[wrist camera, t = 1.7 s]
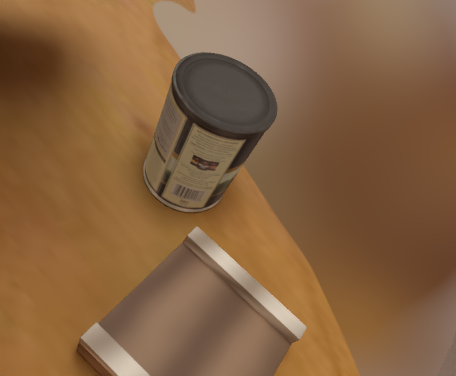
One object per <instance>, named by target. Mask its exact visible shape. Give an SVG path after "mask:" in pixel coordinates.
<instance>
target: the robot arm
mask: <svg viewBox="0 0 456 376" xmlns="http://www.w3.org/2000/svg"><path fill="white" fill-rule="evenodd" d="M438 376H456V333H455V336H454V338H453V341H452V343H451V345H450V348H449V350H448V353H447V355H446V357H445V360H444V362H443V365H442V367H441V369H440V372H439V374H438Z"/></svg>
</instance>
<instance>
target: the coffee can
mask: <svg viewBox="0 0 456 376" xmlns="http://www.w3.org/2000/svg"><path fill="white" fill-rule="evenodd" d="M276 115H277V102H276V99H275V96H274V94H273V92H272V90H271V89H270V87H269V86H268V84H267V83H266V82H265V81H264V80H263V78H262V77H261V76H260V75H258V74H257V73H256V72H255V71H253V70H252V69H251V68H249V67H248V66H246V65H245V64H243V63H241V62H239V61H237V60H235V59H233V58H230V57H227V56H224V55H221V54H215V53H204V52H203V53H195V54H191V55H189V56H186V57H184V58H183V59H181V60H180V61H179V62H178V63H177V65H176V67H175V69H174V71H173V75H172V82H171V85H170V88H169V91H168V95H167V97H166V100H165V104H164V107H163V110H162V113H161V116H160V119H159V122H158V125H157V127H156V131H155V134H154V137H153V140H152V143H151V146H150V149H149V152H148V155H147V157H146V159H145V161H144V165H143V175H144V180H145V183H146V185H147V187H148V188H149V190H150V191H151V193H152V194H153V195H154V196H155V197H156V198H157V199H158V200H159V201H160V202H162V203H163V204H165V205H166V206H168V207H171V208H173V209H176V210H179V211H183V212H201V211H205V210H208V209H210V208H212V207H213V206H215V205H216V204H217V203H218V202H219V201H220V199H221V198H222V196H223V194H224V192H225V191H226V189H227V188H228V186H229V185H230V183H231V182H232V180H233V179H234V177H235V176H236V174H237V173H238V171H239V170H240V168H241V167H242V165H243V164H244V162H245V161H246V159H247V158H248V156H249V155H250V153H251V152H252V150H253V149H254V147H255V146H256V145H257V143H258V141H259V140H260V138H261V137H262V135H263V134H264V132H265V131H266V130H268V128H269V127H270V126H271V125H272V123H273V122H274V120H275V118H276Z"/></svg>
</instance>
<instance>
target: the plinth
mask: <svg viewBox="0 0 456 376" xmlns="http://www.w3.org/2000/svg"><path fill="white" fill-rule="evenodd" d="M306 328H307V327H306V326H305V325H304V324H303V323H302V322H301V321H300V320H299V319H298V318H296V317H295V316H294V315H293V314H292V313H291V312H290V311H289V310H288V309H287V308H286V307H285V306H283V305H282V304H281V303H280V302H279V301H278V300H277V299H276V298H275V297H274V296H273V295H271V294H270V293H269V292H268V291H267V290H266V289H265V288H264V287H263V286H262V285H261V284H260V283H258V282H257V281H256V280H255V279H254V278H253V277H252V276H251V275H250V274H249V273H248V272H246V271H245V270H244V269H243V268H242V267H241V266H240V265H239V264H238V263H237V262H236V261H235V260H233V259H232V258H231V257H230V256H229V255H228V254H227V253H226V252H225V251H224V250H223V249H221V248H220V247H219V246H218V245H217V244H216V243H215V242H214V241H213V240H212V239H211V238H210V237H208V236H207V235H206V234H205V233H204V232H203V231H202V230H201V229H200V228H199V227H198V226H197V227H196V228H195V229H194V230H192V231H191V232H190V233H189V234H188V235H187V237H186V238H185V240H184V241H183V243H182V244H181V245H180V246H178V247H177V248H176V249H175V250H174V251H173V252H172V253H171V254H170V255H169V256H168V257H167V258H166V259H165V260H164V261H163V262H162V263H161V264H160V265H159V266H158V267H157V268H156V269H155V270H154V271H152V272H151V273H150V274H149V275H148V276H147V277H146V278H145V279H144V280H143V281H142V282H141V283H140V284H139V285H138V286H137V287H136V288H135V289H134V290H133V291H132V292H131V293H130V294H129V295H128V296H126V297H125V298H124V299H123V300H122V301H121V302H120V303H119V304H118V305H117V306H116V307H115V308H114V309H113V310H112V311H111V312H110V313H109V314H108V315H107V316H106V317H105V318H104V319H103V320H102V321H100V322H99V323H97V322H96V323H95V324H94V325H93V326H92V327H91V328H90V329H89V330H88V331H87V332H86V333H85V334H84V335H83V336H81V337H80V341H79V344H78V347H77V351H78V353H79V354H80V355H81V356H82V357H83V358H84V359H85V360H86V361H87V362H88V363H89V364H90V365H91V366H92V367H93V368H94V369H95V370H96V371H97V372H98V373H99V374H100V375H101V376H273V375H274V373H275V371H276V369H277V368H278V366H279V364H280V363H281V361H282V359H283V357H284V356H285V354H286V352H287V350H288V349H289V347H290V345H291V343H293V342H296V341H298V340H300V338H301V337H302V335H303V333H304V331H305V329H306Z"/></svg>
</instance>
